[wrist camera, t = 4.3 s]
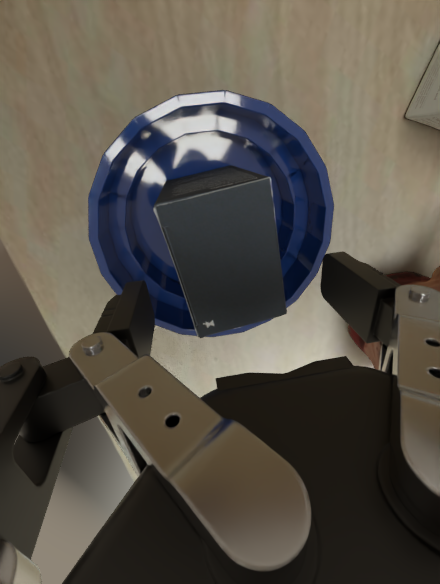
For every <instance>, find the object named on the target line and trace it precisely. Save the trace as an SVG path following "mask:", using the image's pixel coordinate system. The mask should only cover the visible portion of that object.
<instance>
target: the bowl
mask: <svg viewBox="0 0 440 584" xmlns="http://www.w3.org/2000/svg"><path fill="white" fill-rule="evenodd" d="M229 165H232V166H235V167H238V168H241V169H245V170H248V171H251V172H255V173H257V174H261V175H264V176H268V177H270V178H271V182H272V192H273V202H274V210H275V219H276V226H277V235H278V243H279V252H280V260H281V269H282V277H283V285H284V294H285V301H286V308H287V307H289V306H290V305H291V304H293V303H294V302H295V301H296V300H297V299H298V298H299V297H300V295H301V294H302V293H303V291H304V290H305V289H306V288H307V286H308V285H309V284H310V282H311V281H312V280H313V279H314V277H315V276H316V274H317V273H318V270H319V268H320V265H321V263H322V261H323V258H324V256H325V253H326V251H327V248H328V246H329V244H330V239H331V230H332V220H333V211H334V202H333V197H332V193H331V188H330V183H329V178H328V173H327V168H326V166H325V164H324V162H323V161H322V159H321V157H320V156H319V154H318V152H317V151H316V149H315V147H314V145H313V144H312V142H311V140H310V139H309V137H308V135H307V134H306V132H305V131H304V130H303V129H302V128H301V127H299V126H298V125H297V124H296V123H294V122H293V121H292V120H291V119H289V118H288V117H287V116H286V115H284V114H283V113H282V112H281V111H279V110H278V109H277V108H276V107H274V106H273V105H272V104H269V103H268V102H264V101H261V100H257V99H254V98H251V97H247V96H244V95H241V94H237V93H234V92H231V91H227V90H219V91H209V92H199V93H189V94H179V95H175V96H174V97H172V98H170V99H168V100H166V101H164V102H162V103H160V104H159V105H157V106H155V107H153V108H151V109H149V110H147V111H145V112H143V113H142V114H140V115H138V116H136V117H135V119H132V121H131V122H130V123H129V124H128V125H127V126H126V128H125V129H124V130H123V131H122V132H121V133H120V135H119V136H118V137H117V138H116V139H115V141H114V142H113V143H112V144H111V145H110V146H109V148H108V149H107V150H106V151H105V152H104V154H103V156H102V159H101V162H100V164H99V167H98V170H97V173H96V176H95V179H94V181H93V184H92V187H91V190H90V193H89V197H88V221H89V241H90V244H91V246H92V249H93V252H94V255H95V258H96V261H97V263H98V266H99V269H100V272H101V274H102V276H103V277H104V279H105V280H106V281H107V282H108V284H109V285H110V286H111V288H112V289H113V290H114V292H115V293H116V294H117V295H121V294H122V292H123V289H124V287H125V284H126V283H128V282H135V281H141V280H144V281H145V282H146V285H147V289H148V293H149V296H150V300H151V304H152V308H153V312H154V318H155V325H157V326H159V327H162V328H165V329H168V330H170V331H173V332H176V333H178V334H182V335H193V336H197V334H196V331H195V328H194V324H193V321H192V318H191V314H190V311H189V308H188V305H187V302H186V299H185V296H184V293H183V290H182V287H181V284H180V281H179V278H178V275H177V272H176V269H175V266H174V263H173V261H172V258H171V255H170V252H169V250H168V246H167V243H166V241H165V238H164V235H163V233H162V230H161V227H160V225H159V222H158V220H157V217H156V215H155V213H154V211H153V208H154V204H155V203H156V200H157V198H158V196H159V194H160V192H161V190H162V188H163V186H164V184H165V182H166V181H167V180H172V179H176V178H180V177H184V176H189V175H193V174H197V173H201V172H205V171H210V170H213V169H217V168H221V167H225V166H229ZM272 319H273V318H272ZM270 320H271V319H268V320H265V321H261V322H257V323H254V324H250V325H246V326H242V327H238V328H234V329H230V330H227V331H223V332H219V333H215V334H212V335H209V336H205V337H217V336H223V335H229V334H235V333H241V332H245V331H247V330H249V329H252V328H254V327H256V326H259V325H261V324H263V323H266V322H268V321H270Z"/></svg>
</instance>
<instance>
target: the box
mask: <svg viewBox="0 0 440 584" xmlns="http://www.w3.org/2000/svg"><path fill="white" fill-rule="evenodd" d="M153 211H154V213H155V215H156V217H157V220H158V222H159V225H160V227H161V230H162V233H163V235H164V238H165V241H166V243H167V246H168V250H169V252H170V255H171V258H172V261H173V263H174V266H175V269H176V272H177V275H178V278H179V281H180V284H181V287H182V290H183V293H184V296H185V299H186V302H187V305H188V308H189V311H190V314H191V318H192V321H193V324H194V328H195V331H196V334H197V336H198V337H200V338H202V337H205V336H209V335H212V334H215V333H219V332H223V331H227V330H230V329H234V328H238V327H242V326H246V325H250V324H254V323H257V322H261V321H265V320H268V319H272V318H275V317H278V316H281V315H284V314H286V313H287V310H286V301H285V294H284V285H283V277H282V269H281V260H280V252H279V243H278V235H277V226H276V219H275V210H274V202H273V192H272V182H271V178H270V177H268V176H264V175H261V174H257V173H255V172H251V171H248V170H245V169H241V168H238V167H235V166H232V165H229V166H225V167H221V168H217V169H213V170H210V171H205V172H201V173H197V174H193V175H189V176H184V177H180V178H176V179H172V180H167V181H166V182H165V184H164V186H163V188H162V190H161V192H160V194H159V196H158V198H157V200H156V203H155V204H154V208H153Z"/></svg>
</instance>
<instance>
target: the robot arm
mask: <svg viewBox="0 0 440 584" xmlns="http://www.w3.org/2000/svg"><path fill="white" fill-rule="evenodd" d="M321 293H322V296H323V297H324V299H325V300H326V301H327V302H328V303H329V304H330V305H331V306H332V307H333V308H334V310H335V311H336V312H337V313H338V314H339V315H340V316H341V317H342V318H343V319H344V320H345V321H346V322H347V323H348V324H349V325H350V326H351V328H352V329H353V330H354V331H355V332H356V333H357V334H358V335H359V336H360V337H361V338H362V339H363V340H364V341H365V342H366V343H367V344H368V343H373V342H379V341H381V342H382V346H381V350H380V359H379V370H377V369H373V368H368V367H362V366H353V365H352V363H351V362H350V361H349V359H348V358H347V357H346V356H344V357H338V358H332V359H326V360H320V361H315V362H312V363H310V364H307V365H305V366H303V367H300V368H298V369H295V370H293V371H291V372H288V373H284V374H273V373H244V374H238V375H233V376H227V377H221V378H216V383H217V389H216V390H213V391H211V392H209V393H207V394H205V395H204V396H202V397H201V398H199V397H198V396H197V395H196V394H194V393H193V392H192V391H191V390H190V389H188V388H187V387H186V386H185V385H184V384H183V383H181V382H180V381H179V380H178V379H177V378H175V377H174V376H173V375H172V374H171V373H170V372H168V371H167V370H166V369H165V368H164V367H162V366H161V365H160V364H159V363H158V362H157V361H155V360H154V359H153V358H152V357H151V356H150V352H151V345H152V339H153V332H154V326H155V318H154V312H153V308H152V304H151V300H150V296H149V293H148V289H147V285H146V282H145V281H144V280H141V281H135V282H128V283H126V284H125V287H124V289H123V292H122V294H121V295H115V296H114V297H113V298H112V299H111V300H110V301H109V302H108V303H107V305H106V307H105V309H104V311H103V313H102V315H101V317H100V319H99V321H98V324H97V326H96V328H95V330H94V332H93V334H91V335H88V336H86V337H84V338H82V339H81V340H79V341H78V342H77V343H75V344H74V345H73V346H72V348H71V349H70V351H69V357H68V358H65V359H63V360H60V361H57V362H54V363H52V364H49V365H46V366H43V367H42V365H41V364H40V362H39V360H38V359H37V358H35V357H23V358H19V359H16V360H13V361H10V362H8V363H6V364H4V365H3V366H1V367H0V584H42V580H41V573H40V570H39V568H38V567H37V565H36V564H35V563H34V562H32V561H31V557H32V554H33V551H34V548H35V544H36V541H37V538H38V535H39V532H40V529H41V526H42V523H43V519H44V516H45V513H46V510H47V507H48V504H49V501H50V498H51V495H52V492H53V488H54V485H55V482H56V479H57V476H58V473H59V470H60V467H61V464H62V461H63V458H64V454H65V451H66V448H67V445H68V442H69V439H70V436H71V433H72V430H73V427H74V426H76V425H78V424H80V423H83V422H85V421H87V420H89V419H92V418H94V417H96V416H98V415H99V417H100V418H101V420H102V421H103V423H104V424H105V426H106V427H107V429H108V430H109V432H110V433H111V435H112V436H113V438H114V439H115V441H116V442H117V444H118V445H119V447H120V448H121V450H122V451H123V453H124V454H125V456H126V458H127V459H128V461H129V463H130V465H131V466H132V468H133V470H134V471H135V473H136V475H137V476H138V478H137V479H136V481H135V482H134V484H133V485H132V486H131V488H130V489H129V491H128V492H127V493H126V495H125V496H124V498H123V499H122V500H121V502H120V503H119V505H118V506H117V507H116V509H115V510H114V512H113V513H112V514H111V516H110V517H109V519H108V520H107V521H106V523H105V524H104V526H103V527H102V528H101V530H100V531H99V532H98V534H97V535H96V537H95V538H94V540H93V541H92V542H91V544H90V545H89V546H88V548H87V549H86V551H85V552H84V554H83V555H82V556H81V558H80V559H79V560H78V562H77V563H76V565H75V566H74V568H73V569H72V570H71V572H70V573H69V575H68V576H67V577H66V579H65V580H64V581H63V583H62V584H440V292H439V291H437V290H435V289H432V288H430V287H426V286H421V285H400V284H399V283H397V282H395V281H394V280H392V279H391V278H389V277H387V276H386V275H383V273H381V272H380V271H378V270H376V269H375V268H373V267H372V266H370V265H368V264H366V263H363V262H360V261H358V260H356V259H354V258H353V257H351V256H350V255H348V254H347V253H345V252H337V253H330V254H326V255H325V256H324V258H323V266H322V277H321ZM18 434H20V435H19V437H18V439H17V440H16V438H17V436H18ZM15 440H16V442H15ZM14 443H15V444H14Z"/></svg>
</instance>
